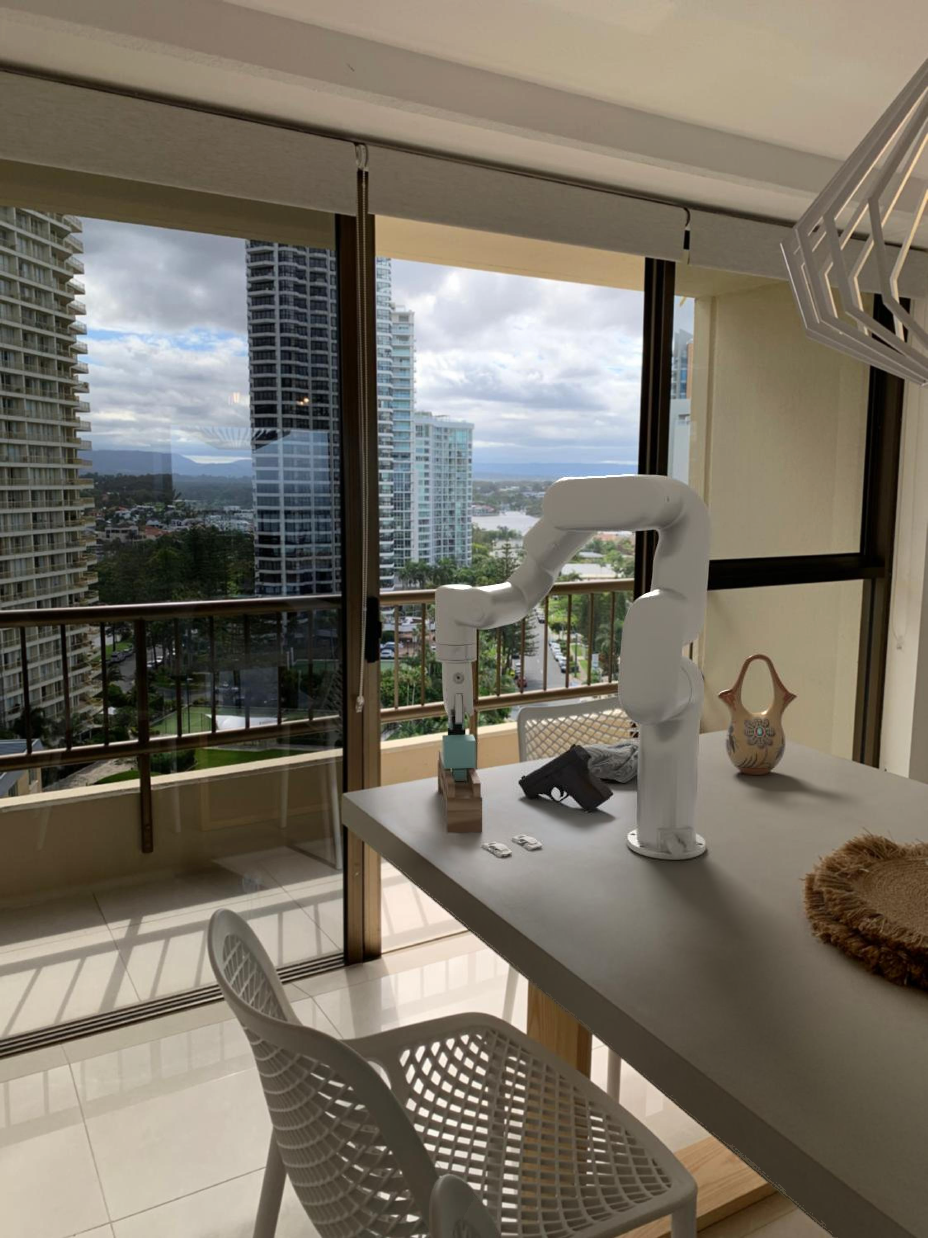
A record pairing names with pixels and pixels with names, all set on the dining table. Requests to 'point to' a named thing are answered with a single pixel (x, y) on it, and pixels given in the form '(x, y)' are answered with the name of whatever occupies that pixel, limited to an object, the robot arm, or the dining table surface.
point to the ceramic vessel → (756, 725)
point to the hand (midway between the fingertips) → (456, 749)
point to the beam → (460, 799)
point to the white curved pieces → (504, 850)
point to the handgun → (568, 780)
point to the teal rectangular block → (459, 754)
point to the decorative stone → (614, 760)
